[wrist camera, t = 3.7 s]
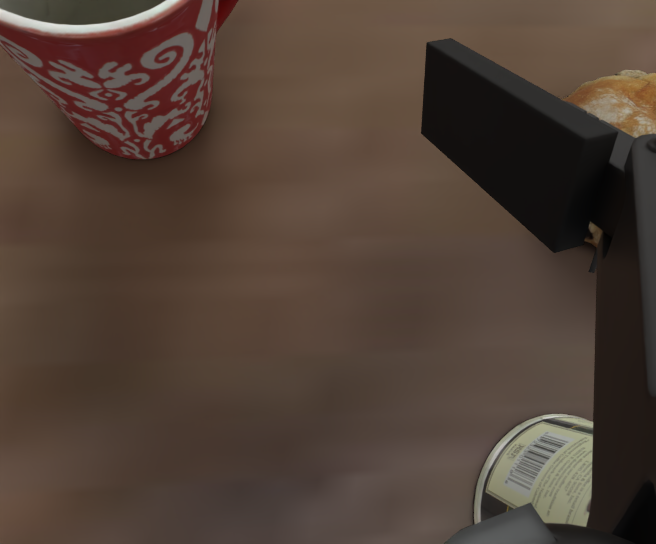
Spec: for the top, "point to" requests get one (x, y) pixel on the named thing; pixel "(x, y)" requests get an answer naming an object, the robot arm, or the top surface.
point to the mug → (121, 66)
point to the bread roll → (619, 109)
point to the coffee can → (540, 471)
